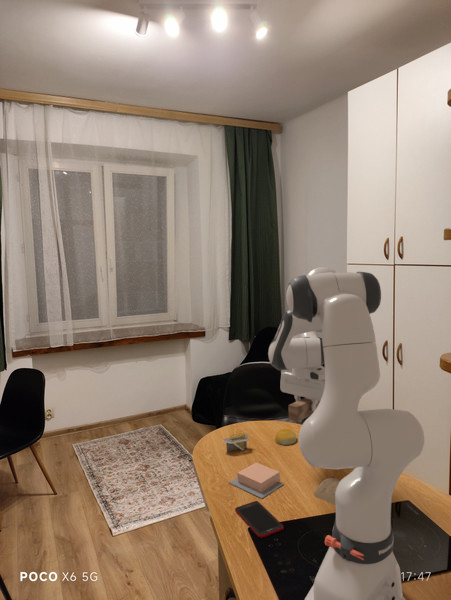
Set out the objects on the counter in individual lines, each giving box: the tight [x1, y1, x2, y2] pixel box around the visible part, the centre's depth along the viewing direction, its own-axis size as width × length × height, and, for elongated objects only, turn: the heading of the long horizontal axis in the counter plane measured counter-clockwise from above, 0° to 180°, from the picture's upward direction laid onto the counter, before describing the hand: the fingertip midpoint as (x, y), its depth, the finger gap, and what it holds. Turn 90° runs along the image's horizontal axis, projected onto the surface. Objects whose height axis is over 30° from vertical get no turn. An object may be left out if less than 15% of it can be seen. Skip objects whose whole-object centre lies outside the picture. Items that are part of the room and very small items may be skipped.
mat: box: [228, 476, 284, 500], centre depth 136 cm, size 10×14×1 cm
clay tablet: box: [313, 477, 341, 506], centre depth 129 cm, size 14×10×3 cm
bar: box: [287, 397, 320, 423], centre depth 148 cm, size 16×4×5 cm, turn 134°
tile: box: [237, 462, 281, 493], centre depth 137 cm, size 3×10×9 cm
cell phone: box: [234, 500, 284, 539], centre depth 118 cm, size 8×15×1 cm, turn 26°
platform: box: [222, 432, 250, 452], centre depth 160 cm, size 12×18×7 cm, turn 106°
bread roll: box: [274, 428, 298, 446], centre depth 167 cm, size 8×9×4 cm
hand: (306, 408), depth 148 cm, fingers closed on bar, 3 cm apart
